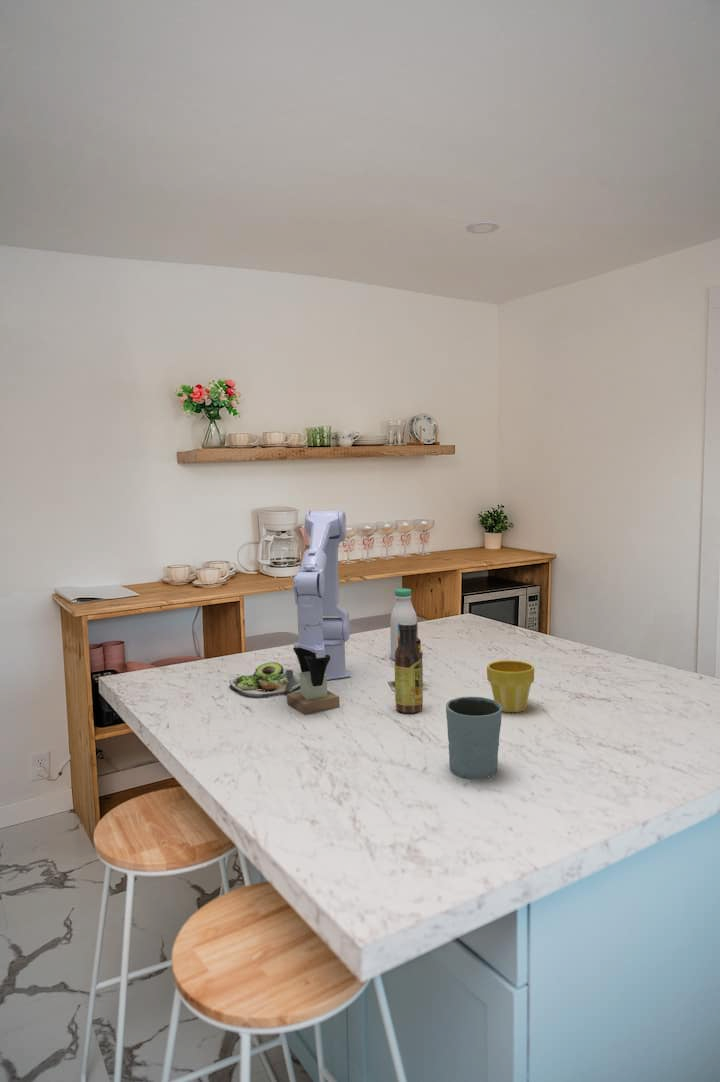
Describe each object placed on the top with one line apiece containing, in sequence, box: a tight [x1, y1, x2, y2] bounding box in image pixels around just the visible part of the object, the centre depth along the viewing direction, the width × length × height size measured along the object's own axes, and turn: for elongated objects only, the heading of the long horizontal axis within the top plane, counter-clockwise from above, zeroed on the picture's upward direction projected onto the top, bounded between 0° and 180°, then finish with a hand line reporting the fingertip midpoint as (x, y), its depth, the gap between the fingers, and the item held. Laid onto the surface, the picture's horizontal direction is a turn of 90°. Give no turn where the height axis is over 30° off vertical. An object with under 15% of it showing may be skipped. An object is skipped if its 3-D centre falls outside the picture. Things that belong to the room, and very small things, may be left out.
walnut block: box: [286, 690, 341, 716], centre depth 169 cm, size 9×9×3 cm
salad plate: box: [229, 661, 300, 698], centre depth 183 cm, size 19×18×5 cm
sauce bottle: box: [394, 622, 424, 714], centre depth 163 cm, size 7×6×20 cm
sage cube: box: [299, 671, 328, 700], centre depth 168 cm, size 5×5×5 cm
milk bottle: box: [389, 587, 419, 661], centre depth 206 cm, size 8×8×20 cm
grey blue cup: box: [445, 696, 503, 779], centre depth 131 cm, size 10×10×12 cm
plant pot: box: [486, 659, 535, 714], centre depth 163 cm, size 10×10×10 cm
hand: (312, 681), depth 168 cm, fingers open, 7 cm apart
